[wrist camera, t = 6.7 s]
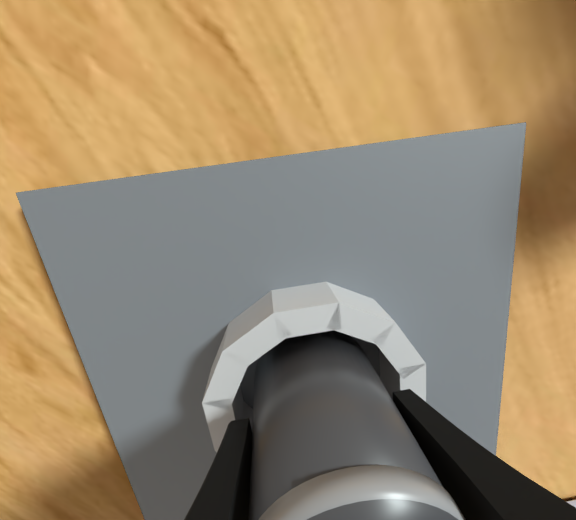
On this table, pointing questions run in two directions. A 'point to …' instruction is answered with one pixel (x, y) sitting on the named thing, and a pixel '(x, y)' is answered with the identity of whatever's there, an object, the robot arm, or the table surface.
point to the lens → (335, 440)
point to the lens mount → (283, 286)
